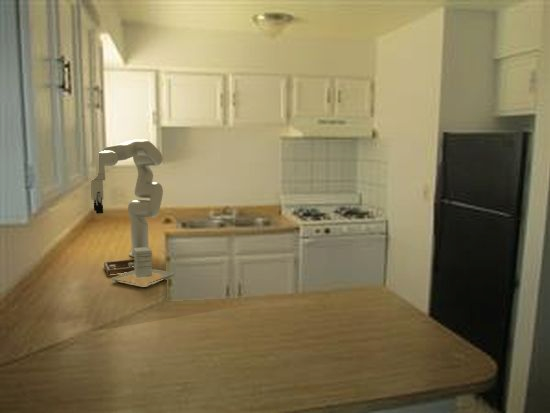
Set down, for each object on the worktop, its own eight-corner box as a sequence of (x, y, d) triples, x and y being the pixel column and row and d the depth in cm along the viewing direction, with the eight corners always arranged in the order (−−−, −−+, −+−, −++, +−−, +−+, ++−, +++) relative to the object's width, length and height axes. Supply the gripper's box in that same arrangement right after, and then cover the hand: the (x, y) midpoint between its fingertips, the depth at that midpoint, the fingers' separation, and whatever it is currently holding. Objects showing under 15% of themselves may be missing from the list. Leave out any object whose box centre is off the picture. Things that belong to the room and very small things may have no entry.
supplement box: (134, 273, 221) (133, 247, 219) (150, 272, 224) (149, 246, 222) (136, 278, 214) (135, 251, 212) (152, 276, 217) (151, 250, 215)
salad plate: (110, 284, 216) (109, 277, 215) (143, 273, 234) (143, 266, 234) (144, 292, 206) (143, 284, 205) (176, 279, 224) (176, 272, 223)
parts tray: (104, 267, 240) (104, 262, 240) (136, 264, 247) (135, 258, 247) (108, 276, 226) (108, 270, 226) (142, 272, 233) (141, 266, 233)
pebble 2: (128, 266, 245) (128, 262, 244) (135, 265, 245) (135, 262, 245) (127, 267, 241) (127, 264, 241) (134, 267, 242) (134, 263, 242)
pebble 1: (107, 269, 238) (107, 265, 237) (111, 268, 241) (111, 264, 240) (113, 270, 237) (113, 266, 237) (116, 268, 240) (116, 264, 240)
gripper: (86, 176, 233) (88, 209, 235) (90, 179, 218) (92, 215, 220) (102, 175, 236) (104, 209, 239) (107, 178, 221) (108, 214, 224)
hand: (98, 211), depth 229 cm, fingers open, 9 cm apart
